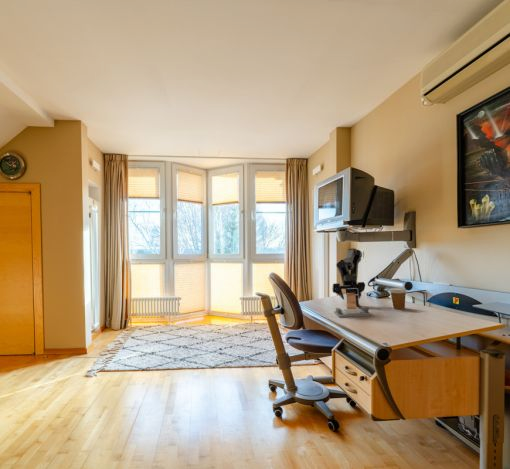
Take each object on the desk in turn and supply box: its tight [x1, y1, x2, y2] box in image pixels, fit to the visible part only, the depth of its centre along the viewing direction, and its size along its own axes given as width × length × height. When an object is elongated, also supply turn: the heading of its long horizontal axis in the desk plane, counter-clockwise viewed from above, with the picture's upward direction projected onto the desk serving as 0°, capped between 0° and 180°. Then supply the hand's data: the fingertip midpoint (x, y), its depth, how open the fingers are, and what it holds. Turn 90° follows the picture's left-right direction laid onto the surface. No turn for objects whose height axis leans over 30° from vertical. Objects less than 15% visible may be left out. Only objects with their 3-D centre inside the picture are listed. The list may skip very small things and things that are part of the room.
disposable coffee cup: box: [389, 287, 407, 310], centre depth 216 cm, size 10×10×12 cm
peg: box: [345, 292, 357, 309], centre depth 208 cm, size 4×4×11 cm
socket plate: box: [334, 306, 372, 318], centre depth 207 cm, size 14×18×4 cm
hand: (351, 298), depth 206 cm, fingers open, 9 cm apart
